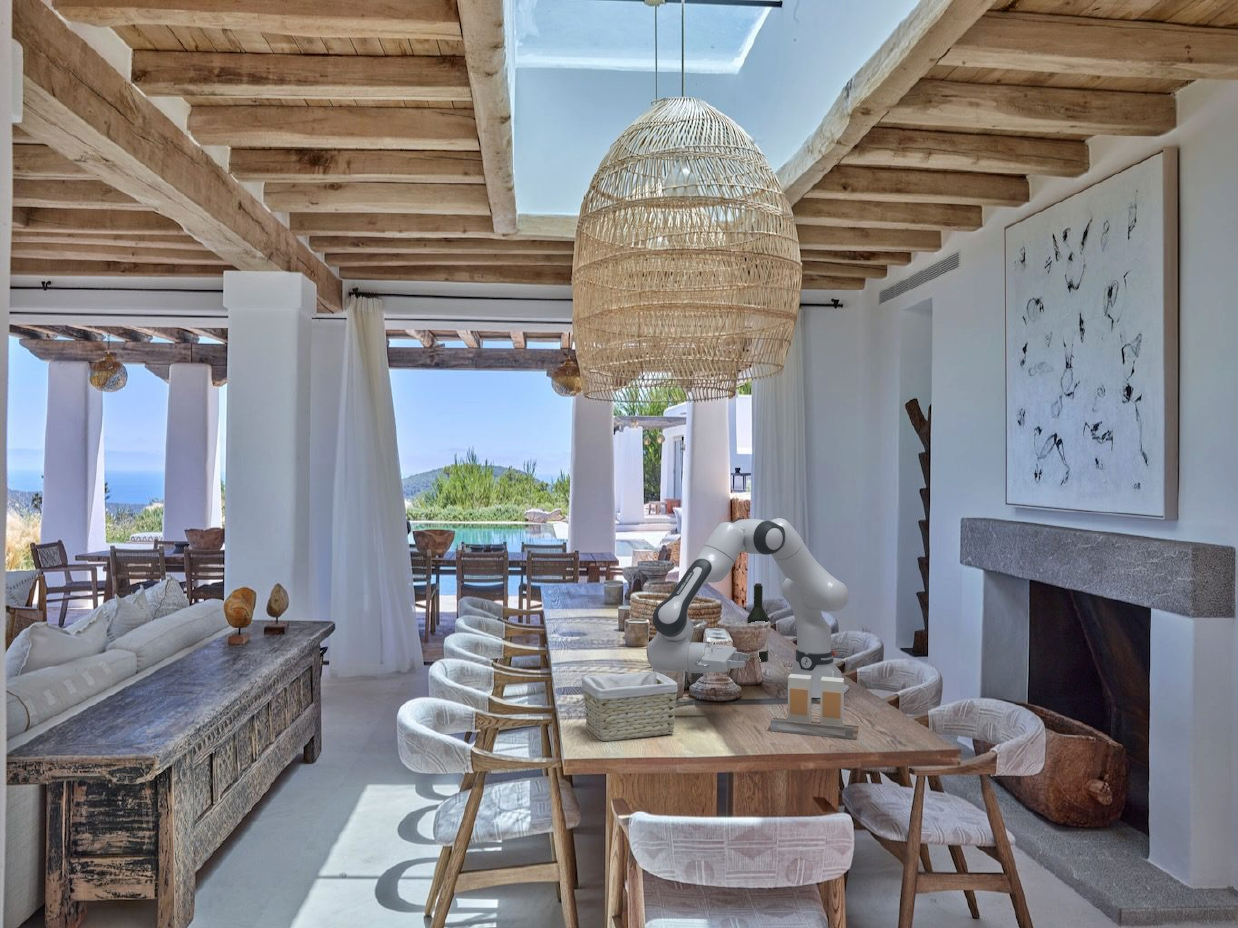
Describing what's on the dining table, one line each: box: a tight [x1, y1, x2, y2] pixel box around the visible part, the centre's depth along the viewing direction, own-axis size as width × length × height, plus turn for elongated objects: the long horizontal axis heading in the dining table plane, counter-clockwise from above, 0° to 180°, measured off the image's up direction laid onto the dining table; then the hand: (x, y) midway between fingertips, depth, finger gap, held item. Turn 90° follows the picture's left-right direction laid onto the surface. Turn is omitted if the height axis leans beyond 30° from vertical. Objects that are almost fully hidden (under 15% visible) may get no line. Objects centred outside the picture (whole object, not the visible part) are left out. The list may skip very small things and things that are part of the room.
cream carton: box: [787, 673, 812, 723], centre depth 246 cm, size 5×6×14 cm
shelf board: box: [766, 717, 860, 741], centre depth 244 cm, size 14×24×4 cm, turn 72°
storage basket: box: [581, 670, 678, 742], centre depth 244 cm, size 24×16×15 cm
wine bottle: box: [746, 583, 769, 663], centre depth 342 cm, size 8×8×30 cm
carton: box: [819, 677, 845, 726], centre depth 243 cm, size 5×6×14 cm
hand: (747, 660), depth 253 cm, fingers open, 8 cm apart
